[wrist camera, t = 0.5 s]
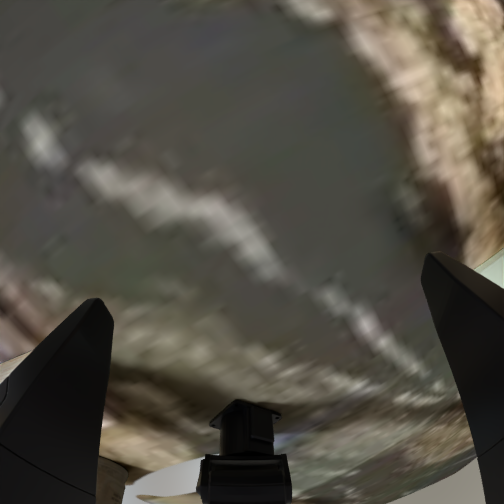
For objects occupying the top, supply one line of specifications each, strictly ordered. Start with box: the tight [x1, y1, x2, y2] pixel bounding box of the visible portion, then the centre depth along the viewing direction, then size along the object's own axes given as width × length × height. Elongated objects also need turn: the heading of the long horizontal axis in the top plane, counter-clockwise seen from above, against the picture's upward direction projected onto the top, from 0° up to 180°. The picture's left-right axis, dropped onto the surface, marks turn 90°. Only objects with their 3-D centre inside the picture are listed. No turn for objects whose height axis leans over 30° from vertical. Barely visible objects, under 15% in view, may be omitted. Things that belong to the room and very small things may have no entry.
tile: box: [474, 248, 504, 288], centre depth 27 cm, size 10×10×1 cm
